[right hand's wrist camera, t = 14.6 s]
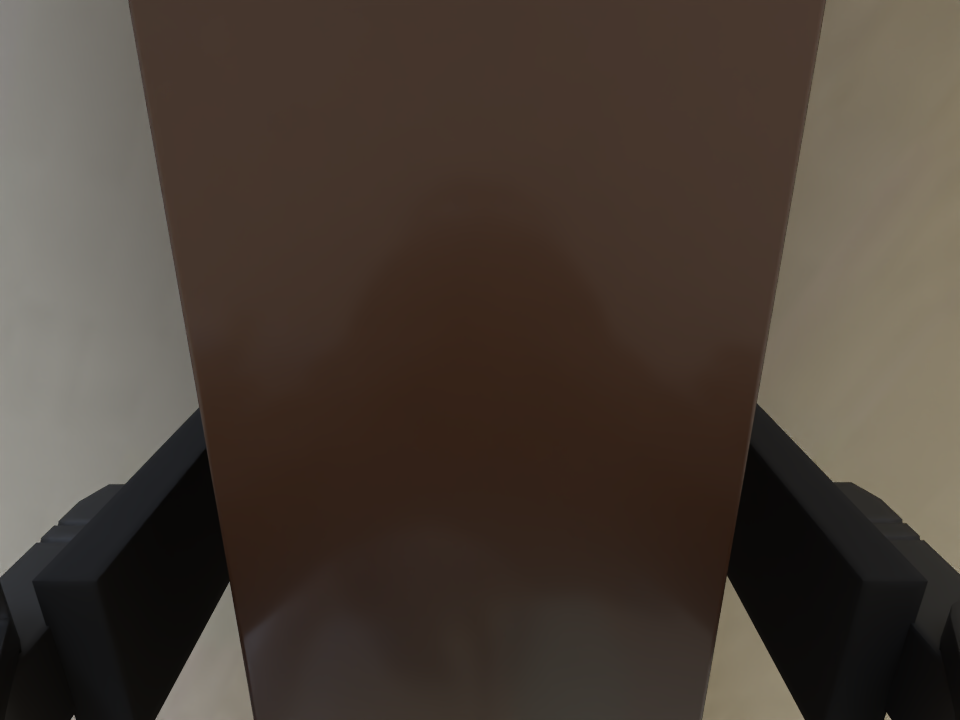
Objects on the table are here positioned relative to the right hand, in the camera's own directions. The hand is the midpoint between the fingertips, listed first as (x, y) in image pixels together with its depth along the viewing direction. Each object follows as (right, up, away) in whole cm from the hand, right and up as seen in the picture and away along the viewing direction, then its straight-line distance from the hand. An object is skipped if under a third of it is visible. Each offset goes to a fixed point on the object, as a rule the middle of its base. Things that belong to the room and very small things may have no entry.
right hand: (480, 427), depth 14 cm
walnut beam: (0, +10, -3) cm, 11 cm away
